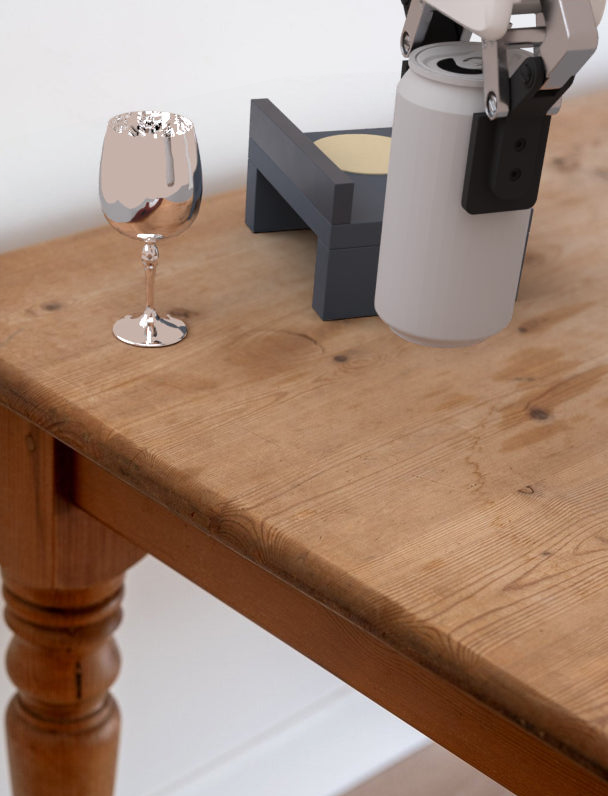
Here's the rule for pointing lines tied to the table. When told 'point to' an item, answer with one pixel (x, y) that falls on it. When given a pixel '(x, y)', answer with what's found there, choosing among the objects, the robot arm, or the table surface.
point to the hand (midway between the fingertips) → (461, 175)
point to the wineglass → (150, 202)
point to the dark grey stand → (324, 201)
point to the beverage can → (443, 210)
